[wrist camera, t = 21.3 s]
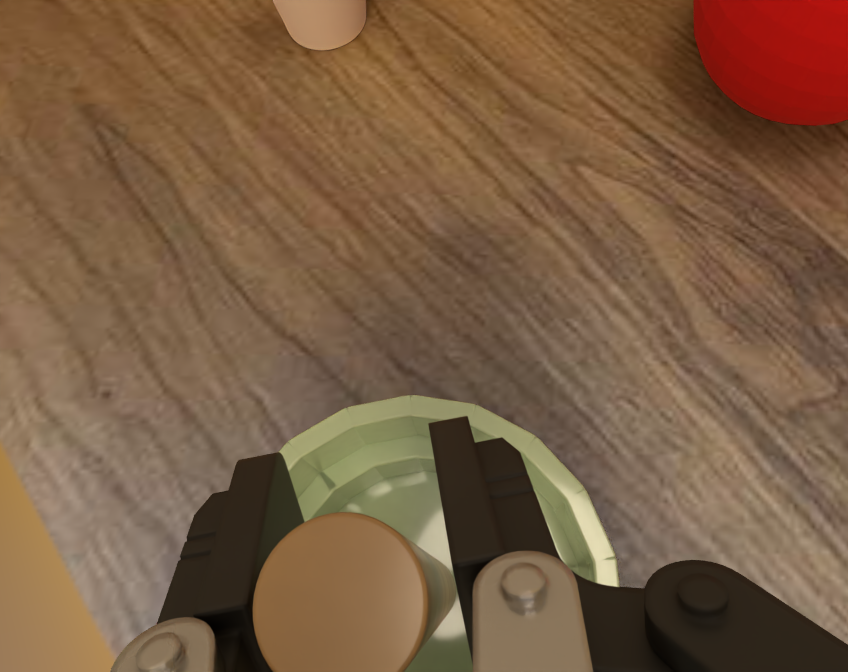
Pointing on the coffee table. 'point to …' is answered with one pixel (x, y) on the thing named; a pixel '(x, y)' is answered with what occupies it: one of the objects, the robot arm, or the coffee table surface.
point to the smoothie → (322, 21)
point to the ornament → (778, 56)
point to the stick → (348, 597)
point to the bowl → (434, 492)
